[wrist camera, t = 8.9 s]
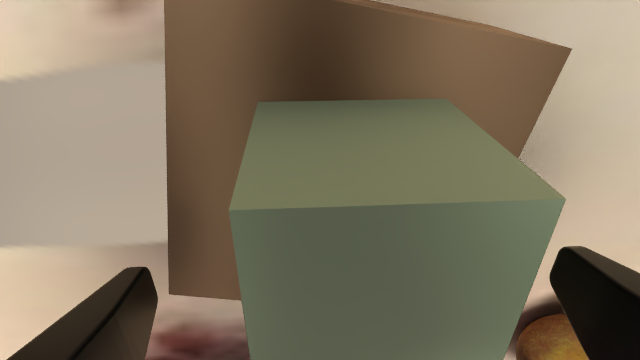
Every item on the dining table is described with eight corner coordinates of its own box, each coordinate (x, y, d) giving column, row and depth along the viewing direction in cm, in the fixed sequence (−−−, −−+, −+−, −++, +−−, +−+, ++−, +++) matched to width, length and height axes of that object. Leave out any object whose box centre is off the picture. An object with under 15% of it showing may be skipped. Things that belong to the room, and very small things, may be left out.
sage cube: (446, 98, 10) (566, 199, 6) (420, 244, 12) (489, 393, 8) (258, 101, 10) (228, 210, 5) (270, 251, 12) (257, 408, 8)
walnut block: (484, 23, 14) (571, 49, 9) (405, 235, 19) (439, 316, 14) (209, -33, 12) (163, -35, 8) (200, 211, 17) (168, 294, 13)
